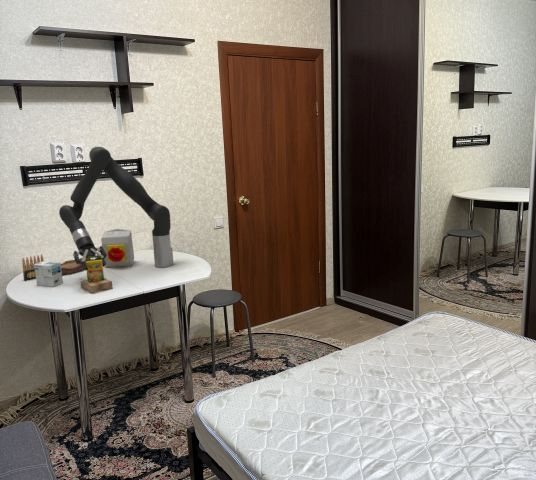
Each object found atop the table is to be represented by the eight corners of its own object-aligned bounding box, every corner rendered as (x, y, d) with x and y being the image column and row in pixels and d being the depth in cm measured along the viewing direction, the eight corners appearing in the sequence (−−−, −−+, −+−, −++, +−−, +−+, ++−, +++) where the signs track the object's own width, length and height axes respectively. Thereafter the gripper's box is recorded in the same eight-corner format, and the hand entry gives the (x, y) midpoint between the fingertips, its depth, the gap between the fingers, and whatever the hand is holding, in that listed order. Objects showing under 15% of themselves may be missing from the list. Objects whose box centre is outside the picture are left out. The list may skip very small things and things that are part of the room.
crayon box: (87, 282, 232) (85, 258, 229) (87, 280, 235) (84, 257, 232) (104, 280, 235) (102, 256, 232) (103, 278, 238) (101, 255, 235)
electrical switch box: (103, 273, 267) (98, 239, 260) (108, 262, 281) (103, 229, 273) (131, 272, 269) (127, 237, 261) (134, 261, 282) (130, 228, 275)
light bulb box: (63, 283, 246) (61, 261, 243) (53, 287, 239) (51, 265, 237) (46, 281, 249) (43, 260, 247) (36, 285, 243) (33, 264, 240)
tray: (101, 283, 243) (100, 276, 242) (112, 288, 235) (111, 281, 234) (81, 288, 237) (80, 280, 236) (92, 293, 228) (91, 286, 227)
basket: (71, 263, 283) (69, 255, 282) (96, 267, 274) (95, 258, 272) (36, 274, 263) (35, 265, 262) (63, 278, 254) (62, 269, 253)
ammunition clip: (45, 275, 259) (42, 253, 256) (46, 276, 257) (43, 254, 255) (23, 280, 252) (20, 257, 249) (24, 281, 251) (21, 258, 248)
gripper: (69, 238, 231) (82, 266, 225) (98, 233, 240) (112, 260, 235) (66, 247, 236) (79, 275, 230) (95, 242, 245) (108, 268, 240)
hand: (95, 267), depth 232 cm, fingers open, 8 cm apart
